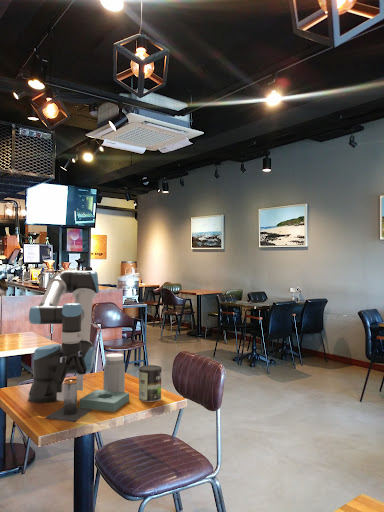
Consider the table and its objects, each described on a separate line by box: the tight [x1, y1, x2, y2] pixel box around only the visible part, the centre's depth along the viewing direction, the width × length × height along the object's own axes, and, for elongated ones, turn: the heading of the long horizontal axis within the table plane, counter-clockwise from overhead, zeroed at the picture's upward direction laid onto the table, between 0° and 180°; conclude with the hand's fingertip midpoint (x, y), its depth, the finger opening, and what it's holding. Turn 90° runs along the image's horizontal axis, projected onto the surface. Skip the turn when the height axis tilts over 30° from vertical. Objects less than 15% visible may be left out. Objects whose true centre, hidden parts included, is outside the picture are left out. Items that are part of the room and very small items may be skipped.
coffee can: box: [138, 364, 163, 403], centre depth 183 cm, size 10×10×14 cm
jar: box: [102, 352, 126, 393], centre depth 190 cm, size 10×10×18 cm
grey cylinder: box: [63, 378, 78, 415], centre depth 163 cm, size 5×5×13 cm
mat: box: [45, 406, 94, 423], centre depth 162 cm, size 13×13×1 cm
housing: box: [79, 389, 130, 413], centre depth 174 cm, size 16×14×4 cm
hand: (70, 395), depth 163 cm, fingers open, 13 cm apart
